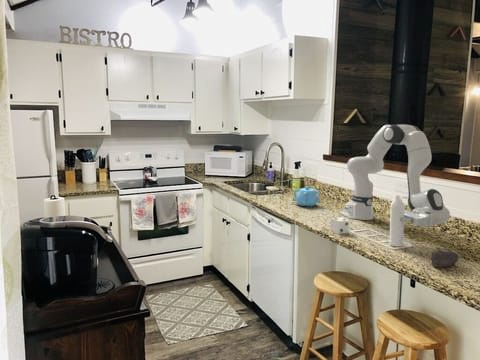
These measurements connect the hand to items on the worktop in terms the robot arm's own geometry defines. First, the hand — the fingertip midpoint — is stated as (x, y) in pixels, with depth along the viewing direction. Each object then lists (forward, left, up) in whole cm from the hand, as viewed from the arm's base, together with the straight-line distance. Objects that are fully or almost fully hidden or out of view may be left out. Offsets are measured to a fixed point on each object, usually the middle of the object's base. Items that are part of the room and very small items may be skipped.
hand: (396, 217), depth 189 cm
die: (-28, -11, -14) cm, 33 cm away
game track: (-10, +1, -14) cm, 17 cm away
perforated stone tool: (+29, -1, -14) cm, 32 cm away
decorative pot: (-89, +9, -14) cm, 91 cm away
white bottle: (+2, +1, -14) cm, 14 cm away
